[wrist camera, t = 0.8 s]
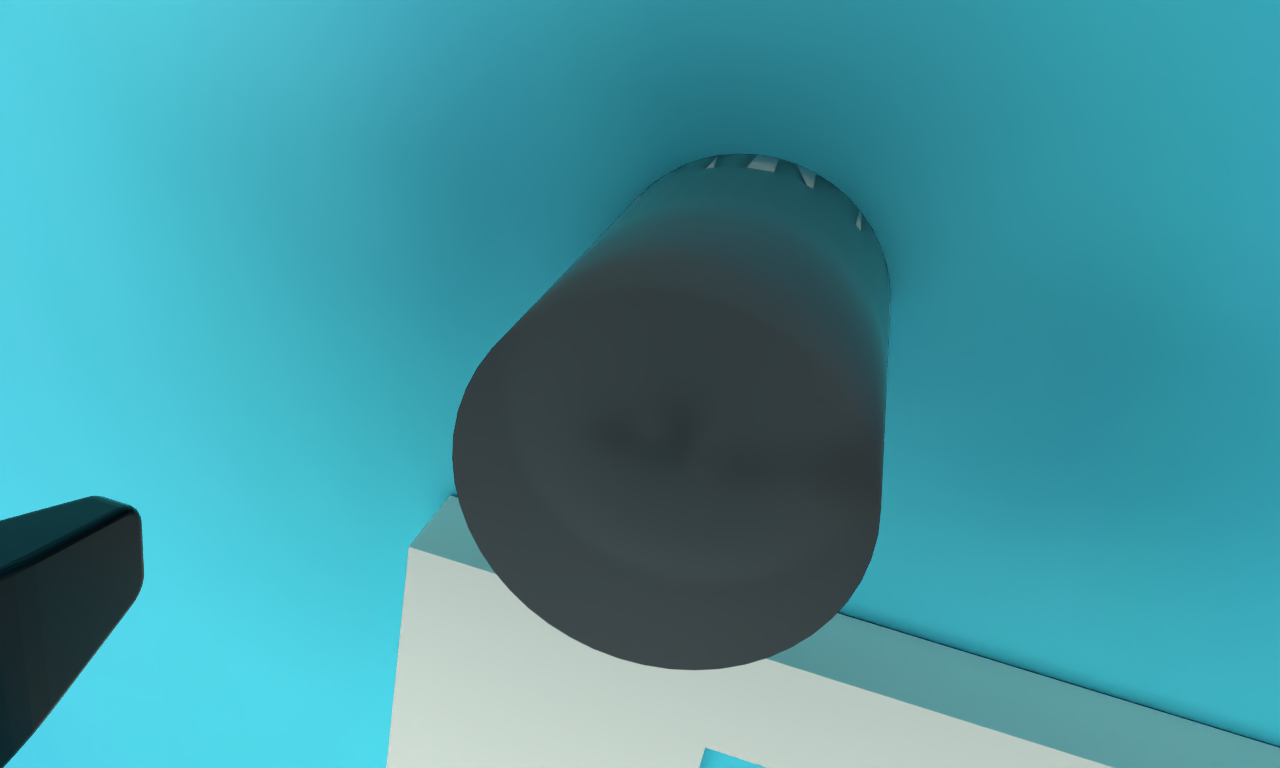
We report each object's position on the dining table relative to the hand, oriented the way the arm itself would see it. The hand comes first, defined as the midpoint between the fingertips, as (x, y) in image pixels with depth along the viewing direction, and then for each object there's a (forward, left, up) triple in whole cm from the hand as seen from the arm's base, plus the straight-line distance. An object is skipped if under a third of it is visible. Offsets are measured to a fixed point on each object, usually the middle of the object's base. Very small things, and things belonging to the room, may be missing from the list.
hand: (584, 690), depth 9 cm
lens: (0, 0, -10) cm, 10 cm away
